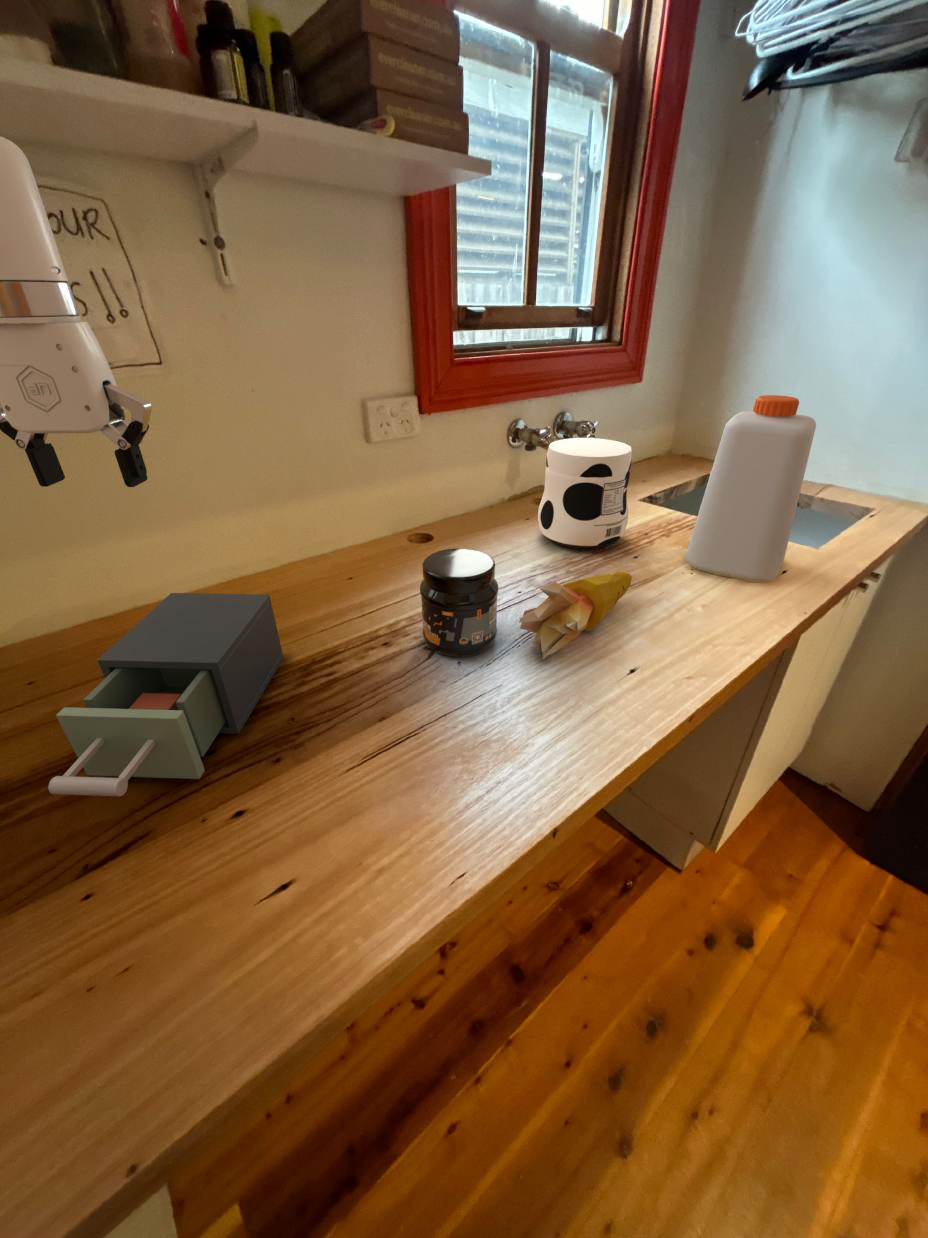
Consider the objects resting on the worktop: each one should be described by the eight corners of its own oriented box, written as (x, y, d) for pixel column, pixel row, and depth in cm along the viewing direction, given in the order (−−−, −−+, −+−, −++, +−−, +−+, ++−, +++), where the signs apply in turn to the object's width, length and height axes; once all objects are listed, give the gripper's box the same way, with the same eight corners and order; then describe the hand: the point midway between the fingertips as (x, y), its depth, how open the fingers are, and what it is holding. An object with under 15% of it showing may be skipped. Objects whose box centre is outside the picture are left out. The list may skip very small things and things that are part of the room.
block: (132, 750, 55) (118, 719, 53) (154, 722, 58) (142, 692, 56) (172, 751, 55) (159, 720, 52) (192, 723, 58) (181, 693, 56)
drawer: (166, 833, 48) (137, 770, 44) (41, 828, 48) (1, 765, 44) (253, 692, 65) (238, 637, 61) (159, 690, 65) (139, 635, 61)
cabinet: (238, 734, 60) (217, 662, 55) (128, 731, 60) (96, 660, 55) (283, 658, 72) (269, 594, 67) (191, 656, 73) (171, 592, 68)
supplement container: (416, 625, 79) (412, 550, 73) (485, 615, 82) (485, 542, 75) (431, 665, 71) (426, 584, 64) (506, 653, 73) (509, 574, 67)
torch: (623, 618, 88) (536, 670, 70) (589, 584, 90) (497, 626, 73) (656, 584, 82) (570, 631, 65) (619, 549, 85) (527, 585, 67)
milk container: (546, 519, 117) (552, 434, 108) (628, 528, 112) (641, 439, 103) (527, 549, 103) (532, 454, 94) (619, 561, 98) (634, 462, 89)
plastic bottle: (678, 568, 95) (715, 400, 81) (699, 540, 106) (734, 388, 92) (773, 589, 88) (832, 409, 74) (784, 557, 99) (837, 394, 84)
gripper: (-94, 306, 48) (-6, 493, 57) (92, 304, 47) (152, 494, 56) (-24, 305, 54) (45, 473, 63) (140, 304, 54) (187, 474, 62)
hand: (95, 483), depth 60 cm, fingers open, 9 cm apart
